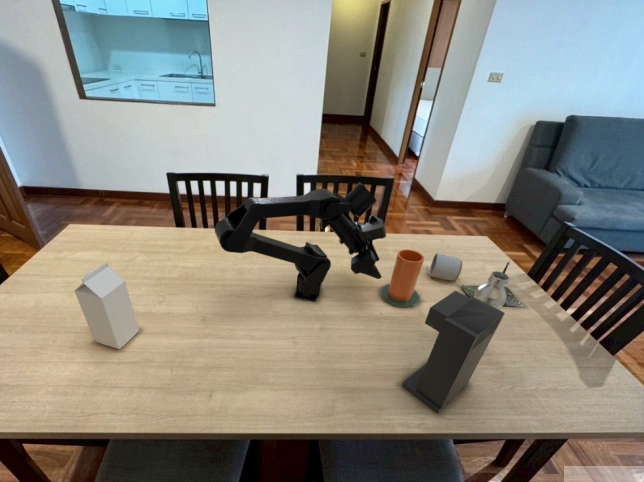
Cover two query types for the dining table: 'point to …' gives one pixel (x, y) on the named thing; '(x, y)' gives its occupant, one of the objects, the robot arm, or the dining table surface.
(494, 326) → the coffee maker
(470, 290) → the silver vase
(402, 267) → the orange cup
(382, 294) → the saucer
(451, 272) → the ceramic mug
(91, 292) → the milk carton
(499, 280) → the silver metal bottle
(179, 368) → the dining table surface
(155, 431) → the dining table surface
